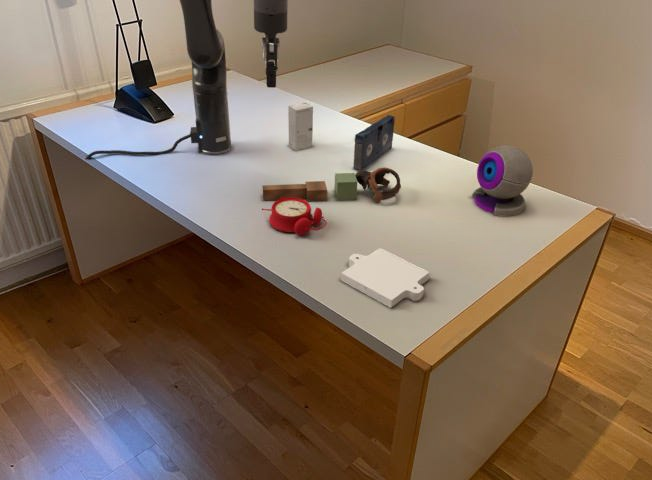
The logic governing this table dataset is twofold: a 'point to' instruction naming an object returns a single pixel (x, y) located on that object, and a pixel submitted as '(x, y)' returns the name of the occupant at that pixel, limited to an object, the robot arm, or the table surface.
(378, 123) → the vhs cassette tape
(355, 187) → the block
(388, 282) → the mounting plate
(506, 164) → the webcam
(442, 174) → the table surface
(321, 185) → the wooden stamp
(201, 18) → the robot arm
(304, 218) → the alarm clock
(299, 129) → the cosmetic box
